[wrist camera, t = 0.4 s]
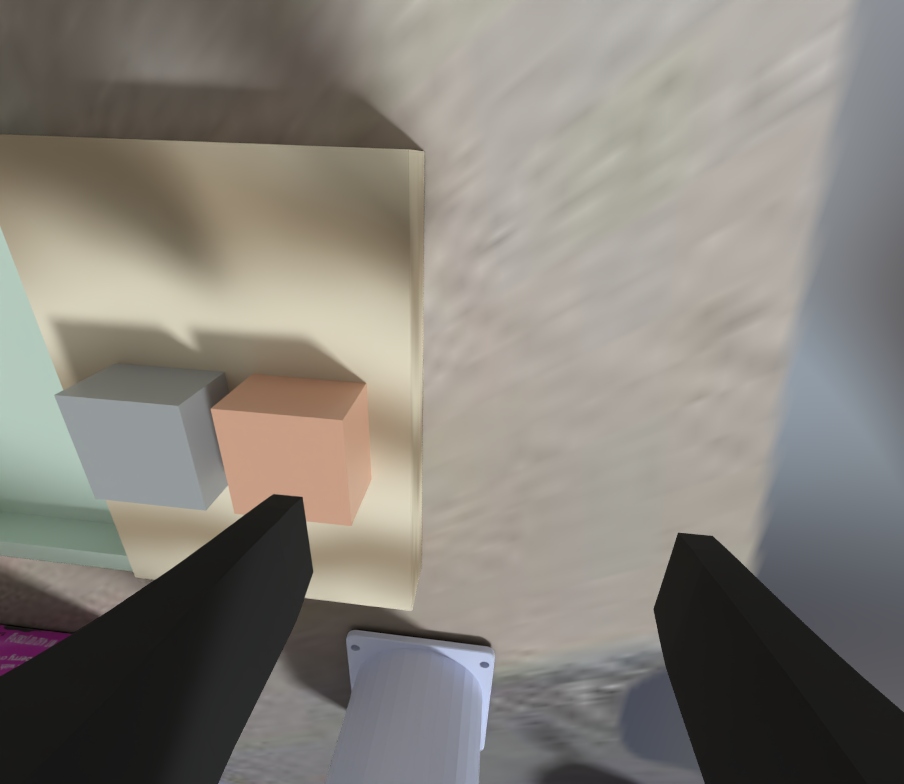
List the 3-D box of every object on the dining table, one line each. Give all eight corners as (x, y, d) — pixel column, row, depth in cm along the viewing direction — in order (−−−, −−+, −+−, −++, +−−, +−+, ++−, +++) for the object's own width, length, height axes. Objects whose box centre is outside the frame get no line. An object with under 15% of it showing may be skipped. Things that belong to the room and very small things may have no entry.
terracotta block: (371, 479, 17) (351, 526, 15) (269, 469, 18) (234, 513, 15) (366, 383, 16) (342, 420, 13) (252, 373, 16) (210, 408, 14)
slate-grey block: (244, 467, 18) (206, 510, 15) (146, 457, 18) (95, 498, 16) (224, 371, 16) (178, 405, 14) (116, 363, 16) (54, 394, 14)
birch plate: (421, 566, 23) (412, 610, 20) (170, 538, 24) (135, 577, 21) (424, 151, 14) (408, 149, 12) (42, 137, 16) (-36, 132, 13)
